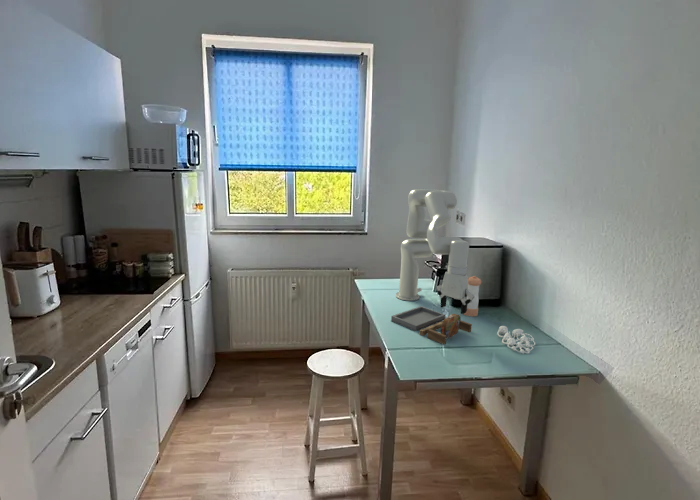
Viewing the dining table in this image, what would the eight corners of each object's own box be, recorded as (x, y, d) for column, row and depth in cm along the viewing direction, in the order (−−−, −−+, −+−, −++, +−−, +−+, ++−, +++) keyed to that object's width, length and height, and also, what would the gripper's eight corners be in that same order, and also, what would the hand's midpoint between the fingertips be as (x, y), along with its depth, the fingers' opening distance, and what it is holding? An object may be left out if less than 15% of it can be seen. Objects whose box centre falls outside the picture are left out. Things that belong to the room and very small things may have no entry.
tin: (445, 341, 166) (447, 322, 164) (438, 339, 168) (440, 320, 166) (460, 330, 178) (462, 312, 176) (453, 328, 180) (455, 310, 178)
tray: (420, 310, 199) (421, 306, 199) (444, 319, 190) (445, 314, 189) (391, 321, 184) (391, 316, 184) (415, 331, 175) (416, 325, 174)
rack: (447, 323, 186) (448, 315, 185) (471, 331, 177) (471, 324, 177) (419, 334, 171) (420, 326, 171) (443, 344, 163) (444, 336, 162)
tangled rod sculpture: (540, 360, 158) (542, 350, 156) (501, 352, 160) (503, 342, 159) (529, 338, 176) (531, 329, 175) (494, 331, 178) (496, 322, 177)
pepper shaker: (479, 316, 195) (484, 278, 191) (464, 316, 196) (468, 277, 191) (475, 311, 203) (479, 274, 198) (460, 310, 203) (464, 273, 199)
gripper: (434, 267, 170) (430, 306, 174) (471, 276, 158) (466, 317, 161) (444, 264, 175) (440, 302, 179) (480, 273, 163) (476, 314, 167)
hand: (453, 310), depth 170 cm, fingers open, 9 cm apart
